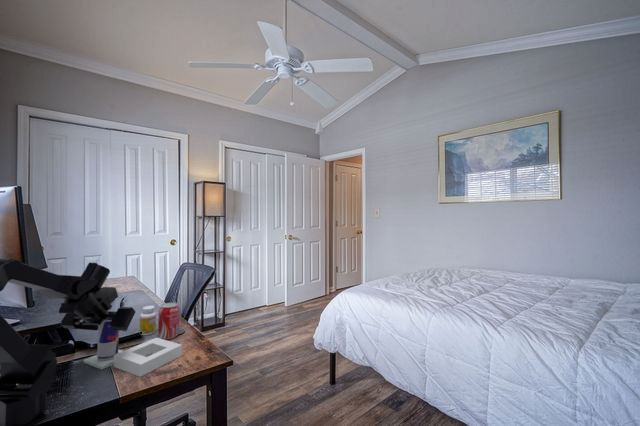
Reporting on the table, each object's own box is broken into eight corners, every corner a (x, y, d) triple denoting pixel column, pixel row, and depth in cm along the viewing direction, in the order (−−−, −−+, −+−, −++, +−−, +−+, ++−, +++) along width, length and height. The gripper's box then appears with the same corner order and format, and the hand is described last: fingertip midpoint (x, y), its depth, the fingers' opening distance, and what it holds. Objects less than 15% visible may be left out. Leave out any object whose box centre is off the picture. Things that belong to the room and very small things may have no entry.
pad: (101, 369, 86) (101, 366, 86) (83, 362, 90) (83, 359, 90) (131, 356, 94) (131, 353, 94) (114, 350, 98) (114, 347, 98)
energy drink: (113, 360, 90) (114, 321, 90) (93, 361, 89) (94, 322, 89) (121, 352, 95) (122, 315, 95) (102, 353, 94) (103, 316, 94)
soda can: (158, 334, 111) (159, 302, 111) (179, 331, 114) (180, 301, 114) (156, 342, 105) (157, 308, 105) (178, 339, 108) (179, 306, 108)
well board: (140, 376, 83) (140, 364, 83) (113, 366, 88) (114, 355, 88) (181, 355, 96) (181, 344, 96) (156, 347, 101) (156, 337, 101)
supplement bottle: (136, 333, 112) (137, 308, 112) (150, 328, 116) (151, 304, 116) (145, 336, 109) (145, 310, 109) (158, 331, 114) (159, 306, 114)
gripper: (132, 281, 88) (152, 306, 99) (70, 279, 88) (96, 305, 99) (113, 317, 80) (137, 339, 91) (45, 315, 80) (77, 338, 91)
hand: (112, 329), depth 93 cm, fingers open, 9 cm apart
